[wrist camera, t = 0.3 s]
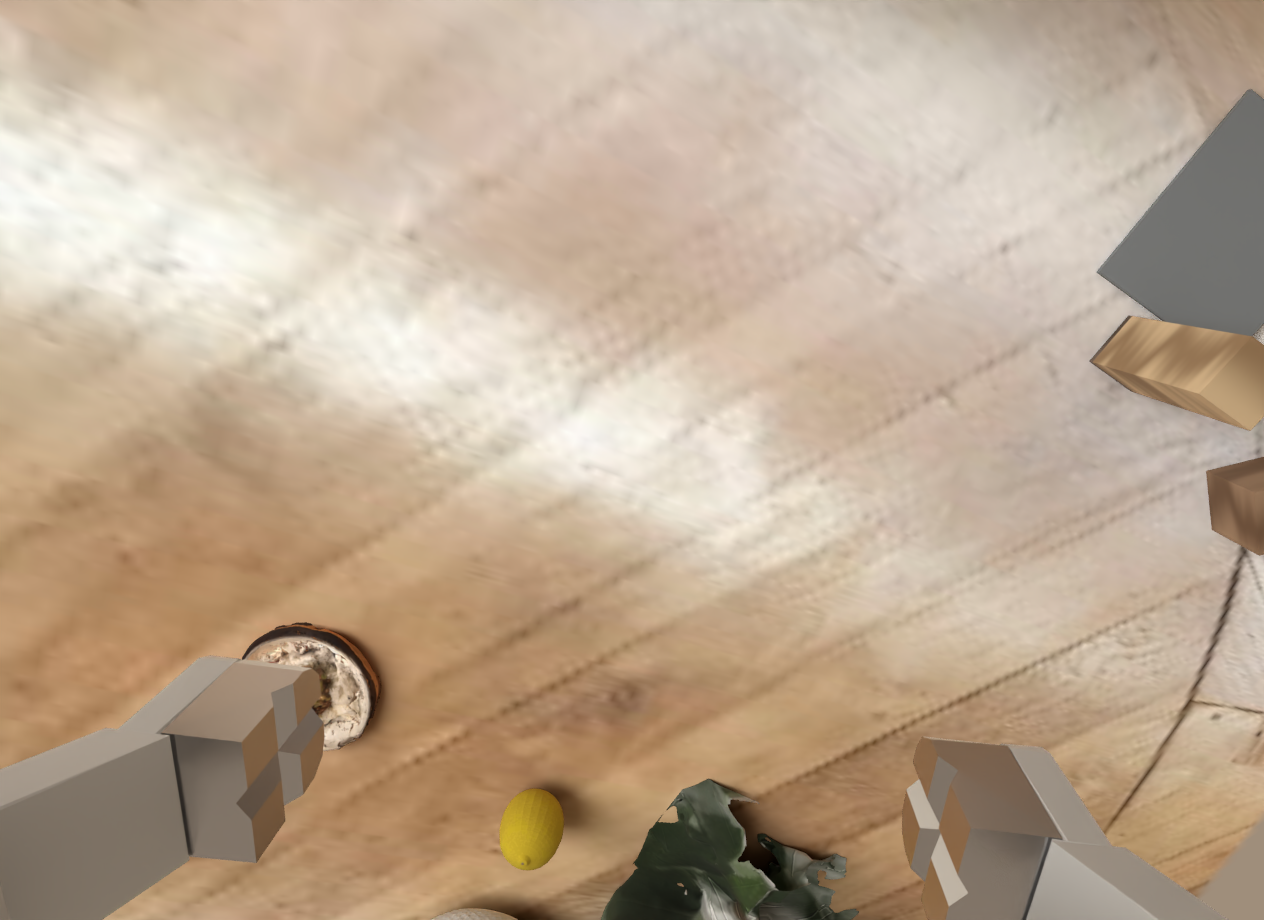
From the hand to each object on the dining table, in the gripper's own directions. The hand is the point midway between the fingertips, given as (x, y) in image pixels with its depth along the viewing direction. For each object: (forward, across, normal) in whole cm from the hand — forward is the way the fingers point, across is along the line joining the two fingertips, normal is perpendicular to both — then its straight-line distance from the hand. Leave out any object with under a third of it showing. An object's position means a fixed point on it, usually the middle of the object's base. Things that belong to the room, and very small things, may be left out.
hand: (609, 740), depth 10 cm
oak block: (+48, -33, +1) cm, 59 cm away
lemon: (+46, +9, +45) cm, 66 cm away
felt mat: (+49, -38, -8) cm, 62 cm away
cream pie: (+47, +30, +36) cm, 66 cm away
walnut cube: (+49, -44, +10) cm, 67 cm away
